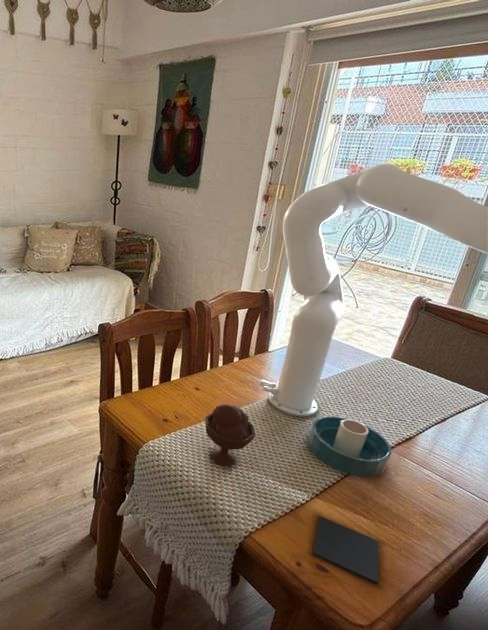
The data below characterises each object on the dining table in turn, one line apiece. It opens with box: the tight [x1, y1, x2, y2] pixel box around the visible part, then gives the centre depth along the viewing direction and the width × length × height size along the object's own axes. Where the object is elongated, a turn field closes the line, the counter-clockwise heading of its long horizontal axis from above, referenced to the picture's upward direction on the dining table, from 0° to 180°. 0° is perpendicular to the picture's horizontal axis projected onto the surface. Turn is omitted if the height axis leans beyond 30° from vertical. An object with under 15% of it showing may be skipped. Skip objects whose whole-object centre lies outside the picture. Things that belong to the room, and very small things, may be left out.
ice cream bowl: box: [204, 403, 256, 467], centre depth 100 cm, size 11×11×15 cm
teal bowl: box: [307, 415, 392, 478], centre depth 105 cm, size 16×16×5 cm
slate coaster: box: [312, 515, 380, 585], centre depth 82 cm, size 10×10×1 cm
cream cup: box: [332, 418, 369, 458], centre depth 104 cm, size 6×6×8 cm
